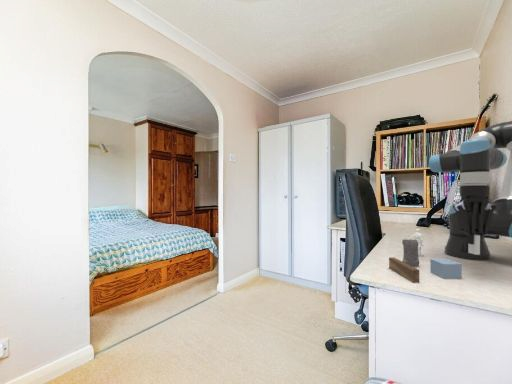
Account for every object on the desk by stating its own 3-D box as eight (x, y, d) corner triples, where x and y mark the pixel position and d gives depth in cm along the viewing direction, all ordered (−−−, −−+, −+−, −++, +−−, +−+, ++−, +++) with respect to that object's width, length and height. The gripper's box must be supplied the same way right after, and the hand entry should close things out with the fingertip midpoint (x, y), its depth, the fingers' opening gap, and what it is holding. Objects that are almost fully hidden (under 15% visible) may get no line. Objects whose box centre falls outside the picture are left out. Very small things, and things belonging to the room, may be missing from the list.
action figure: (425, 255, 105) (424, 229, 105) (421, 257, 103) (421, 229, 103) (409, 252, 110) (408, 227, 110) (405, 254, 108) (405, 228, 108)
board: (394, 267, 90) (394, 257, 90) (419, 282, 76) (419, 270, 76) (389, 268, 90) (389, 257, 90) (413, 282, 76) (413, 270, 76)
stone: (420, 267, 90) (420, 241, 90) (403, 265, 92) (403, 240, 92) (417, 264, 94) (418, 239, 93) (401, 263, 95) (401, 238, 95)
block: (447, 272, 85) (447, 258, 85) (461, 278, 79) (461, 264, 79) (430, 272, 85) (430, 258, 85) (443, 279, 79) (443, 264, 79)
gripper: (483, 185, 85) (482, 250, 85) (446, 185, 85) (446, 250, 85) (504, 184, 77) (504, 256, 77) (464, 184, 78) (464, 256, 78)
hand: (474, 253), depth 81 cm, fingers closed
